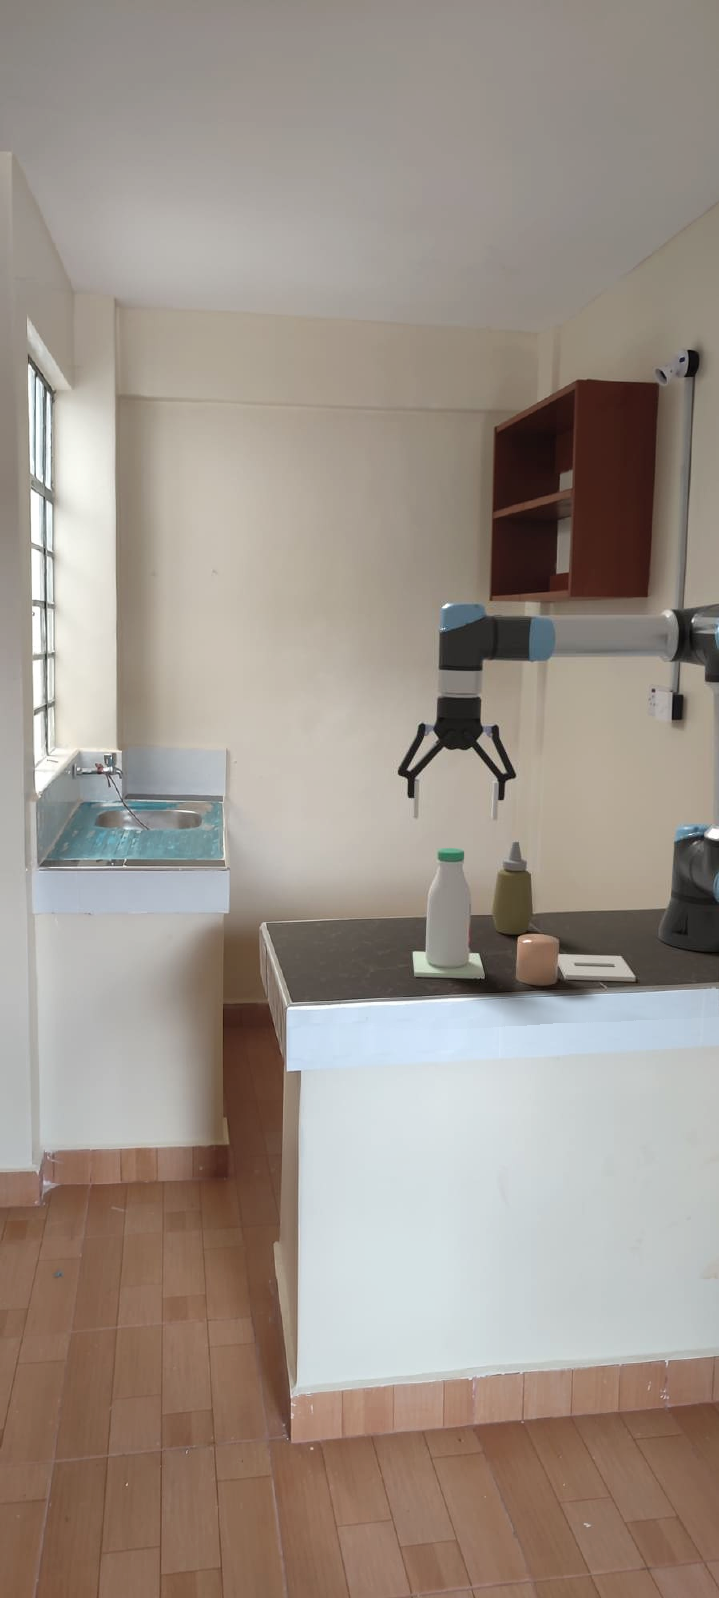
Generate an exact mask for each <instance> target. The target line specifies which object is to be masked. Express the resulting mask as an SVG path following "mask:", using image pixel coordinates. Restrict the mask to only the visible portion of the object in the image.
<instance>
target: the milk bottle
mask: <svg viewBox="0 0 719 1598" xmlns="http://www.w3.org/2000/svg"><path fill="white" fill-rule="evenodd" d="M464 859H465V851H464V850H462V849H459V848H455V847H454V848H452V847H449V848H448V847H447V848H446V847H445V848H440V849H438V851H437V863H438V868H437V872H436V874H435V877H434V879H433V881H432V883H431V884H430V887H429V890H428V896H427V905H426V906H427V907H426V931H425V932H426V933H425V952H426V960H427V961H428V962H429V963H431V964H435V965H439V966H461V965H464V964H466V963H467V962H468V961H469V953H471V952H470V949H471V948H470V947H471V921H472V919H471V918H472V899H471V898H472V896H471V890H470V888H469V885H468V882H467V880H466V877H465V874H464V869H463V864H464V863H465V862H464Z"/></svg>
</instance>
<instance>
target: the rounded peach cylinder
mask: <svg viewBox="0 0 719 1598" xmlns="http://www.w3.org/2000/svg"><path fill="white" fill-rule="evenodd" d="M559 948H560V940H559V938H557V937H554V936H552V935H549V934H542V933H527V934H525V933H524V934H520V936H518V937H517V948H516V949H517V952H516V966H515V968H516V969H515V979H516V980H517V981H519V982H520V983H522V982H523V984H526V985H529V986H530V985H531V986H550V985H554V984H556V983H557V982H558V969H559V966H558V954H560V953H559V950H560V949H559Z"/></svg>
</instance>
